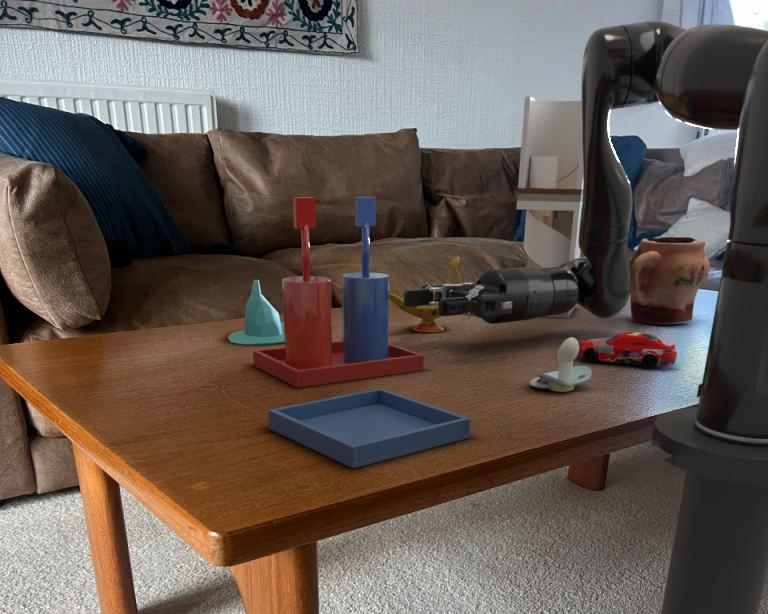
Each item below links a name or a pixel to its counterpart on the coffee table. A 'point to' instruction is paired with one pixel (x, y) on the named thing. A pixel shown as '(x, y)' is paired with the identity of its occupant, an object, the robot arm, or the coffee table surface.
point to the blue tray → (368, 426)
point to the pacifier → (564, 370)
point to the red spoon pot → (307, 303)
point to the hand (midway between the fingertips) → (422, 303)
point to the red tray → (337, 366)
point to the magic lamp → (425, 307)
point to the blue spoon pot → (365, 299)
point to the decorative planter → (667, 279)
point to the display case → (551, 182)
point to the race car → (629, 350)
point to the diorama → (259, 322)
